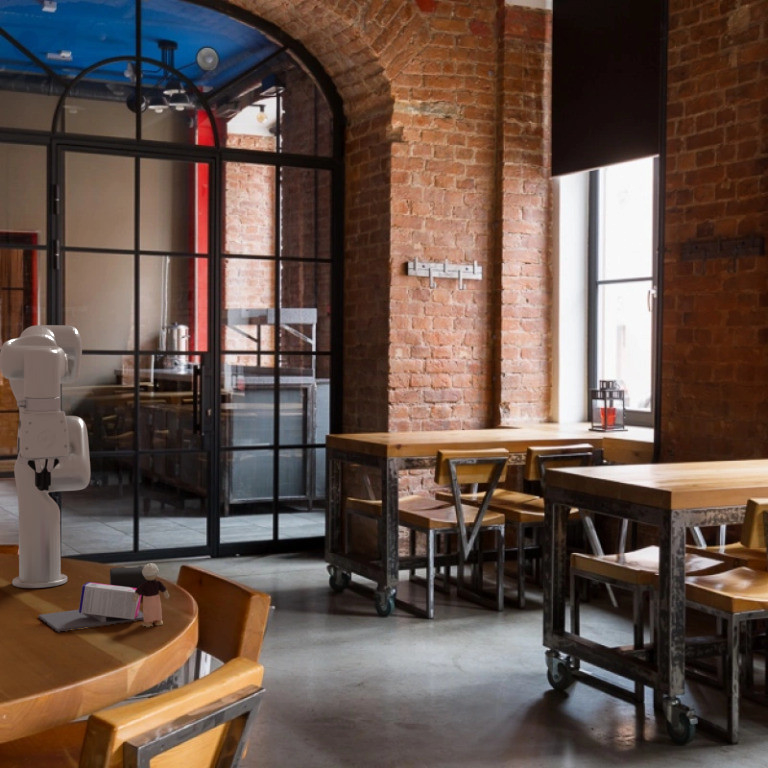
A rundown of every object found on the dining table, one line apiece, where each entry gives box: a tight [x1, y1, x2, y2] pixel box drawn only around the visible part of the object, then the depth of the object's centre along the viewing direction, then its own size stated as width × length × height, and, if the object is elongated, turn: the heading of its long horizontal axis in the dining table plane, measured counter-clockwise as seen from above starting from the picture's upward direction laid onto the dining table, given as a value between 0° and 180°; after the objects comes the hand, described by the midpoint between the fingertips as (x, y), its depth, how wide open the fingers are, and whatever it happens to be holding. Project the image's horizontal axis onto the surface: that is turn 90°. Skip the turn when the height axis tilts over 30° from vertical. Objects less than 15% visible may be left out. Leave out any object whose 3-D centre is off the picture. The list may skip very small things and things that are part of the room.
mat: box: [38, 609, 144, 633], centre depth 222 cm, size 14×19×2 cm
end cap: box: [109, 565, 157, 597], centre depth 243 cm, size 10×7×7 cm
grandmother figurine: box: [132, 563, 170, 628], centre depth 217 cm, size 8×4×13 cm, turn 135°
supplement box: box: [78, 581, 142, 620], centre depth 219 cm, size 6×6×12 cm
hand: (43, 489), depth 230 cm, fingers closed
